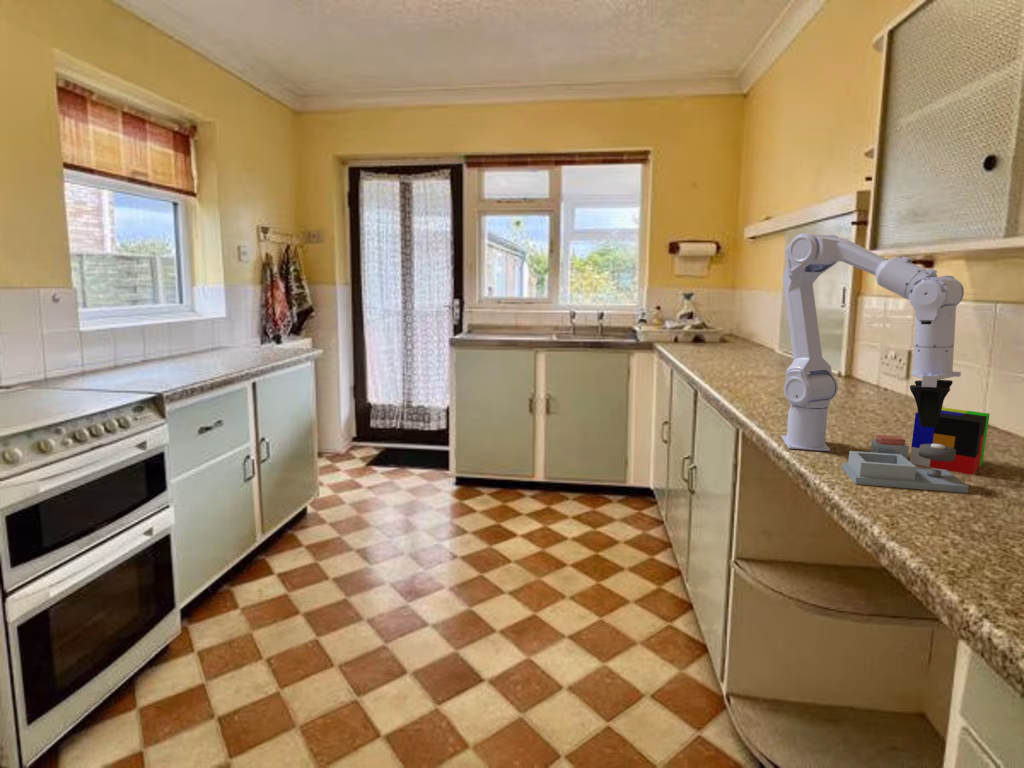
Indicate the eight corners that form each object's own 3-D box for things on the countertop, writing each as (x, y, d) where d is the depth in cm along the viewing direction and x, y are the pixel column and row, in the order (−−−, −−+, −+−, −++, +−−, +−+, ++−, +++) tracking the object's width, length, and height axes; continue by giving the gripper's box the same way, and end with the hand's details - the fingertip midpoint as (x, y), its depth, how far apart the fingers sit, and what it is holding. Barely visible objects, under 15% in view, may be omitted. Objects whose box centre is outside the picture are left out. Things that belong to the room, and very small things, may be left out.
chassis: (841, 468, 115) (843, 449, 114) (945, 476, 110) (947, 456, 110) (855, 484, 106) (857, 463, 105) (967, 493, 102) (970, 472, 101)
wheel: (914, 451, 109) (915, 440, 109) (947, 453, 108) (948, 442, 108) (925, 459, 104) (927, 448, 104) (960, 462, 103) (961, 450, 103)
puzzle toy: (909, 463, 118) (915, 413, 116) (922, 452, 125) (928, 405, 123) (972, 475, 111) (980, 422, 109) (982, 463, 118) (989, 413, 116)
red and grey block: (869, 463, 118) (872, 433, 117) (898, 465, 117) (901, 435, 116) (875, 469, 114) (879, 439, 113) (905, 472, 113) (909, 440, 112)
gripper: (961, 349, 98) (956, 432, 99) (963, 344, 109) (959, 418, 111) (908, 349, 102) (905, 428, 104) (916, 343, 113) (912, 415, 115)
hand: (929, 423), depth 107 cm, fingers open, 7 cm apart
